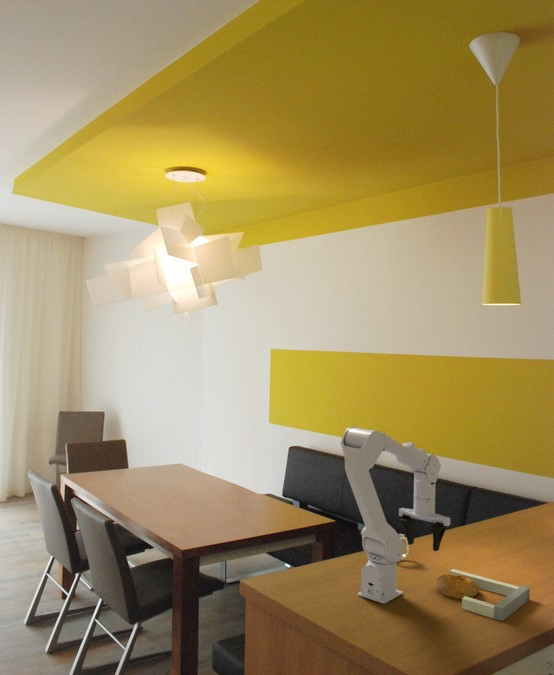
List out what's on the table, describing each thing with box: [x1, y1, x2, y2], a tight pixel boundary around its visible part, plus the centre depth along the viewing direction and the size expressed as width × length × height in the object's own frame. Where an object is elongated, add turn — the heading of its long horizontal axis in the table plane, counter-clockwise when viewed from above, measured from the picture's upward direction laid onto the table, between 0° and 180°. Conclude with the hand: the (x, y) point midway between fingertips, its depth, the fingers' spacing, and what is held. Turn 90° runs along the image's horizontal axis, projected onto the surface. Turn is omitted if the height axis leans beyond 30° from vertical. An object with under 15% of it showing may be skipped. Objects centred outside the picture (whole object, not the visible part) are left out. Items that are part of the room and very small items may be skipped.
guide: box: [449, 568, 531, 622], centre depth 158 cm, size 18×21×3 cm
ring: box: [397, 533, 411, 562], centre depth 185 cm, size 7×3×8 cm, turn 116°
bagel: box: [436, 572, 480, 600], centre depth 161 cm, size 10×11×5 cm
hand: (423, 547), depth 168 cm, fingers open, 7 cm apart
